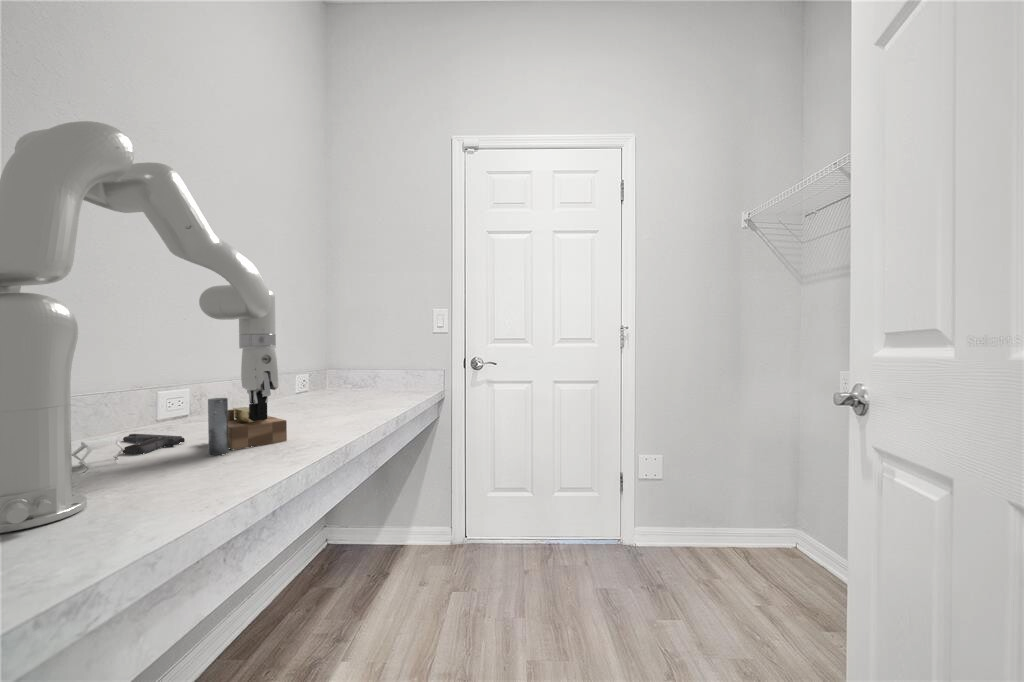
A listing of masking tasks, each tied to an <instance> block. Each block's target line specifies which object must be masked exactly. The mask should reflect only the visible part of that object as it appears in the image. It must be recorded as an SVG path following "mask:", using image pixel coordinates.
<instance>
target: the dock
mask: <svg viewBox="0 0 1024 682" xmlns="http://www.w3.org/2000/svg"><path fill="white" fill-rule="evenodd" d="M287 433H288V431H287V420H286V419H283V418H278V417H274V416H270V415H267V419H266V420H262V421H256V422H245V421H242V420H238V419H235V418H234V410H233V408H232V409H228V448H230V449H232V450H231V451H234V450H233V449H237V450H241V449H240V448H243V449H247V448H246V447H249V448H252V447H251V446H254V447H259V446H258V445H260V446H265V444H266V445H271V444H276V443H283V442H286V441H287V440H288V438H287V437H288V436H287ZM230 449H229V450H230Z"/></svg>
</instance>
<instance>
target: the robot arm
mask: <svg viewBox="0 0 1024 682" xmlns="http://www.w3.org/2000/svg"><path fill="white" fill-rule="evenodd" d="M134 159H135V150H134V145H133V143H132V141H131V140H130V138H129V137H128V136H127V135H126V134H125V133H124V132H123V131H121V130H120V129H118V128H117V127H115V126H113V125H110V124H107V123H104V122H99V121H88V120H85V121H84V120H81V121H79V120H77V121H71V122H65V123H62V124H57V125H55V126H52V127H50V128H46V129H38V130H34V131H30V132H27V133H25V134H23V135H22V136H20V137H19V139H18V140H17V141H16V143H15V146H14V151H13V154H12V155H11V156H10V157H9V159H8V160H7V162H6V163H5V165H4V168H3V170H2V171H1V175H0V534H2V533H3V534H4V533H10V532H14V531H15V532H16V531H21V530H26V529H30V528H35V527H38V526H39V527H40V526H42V525H46V524H50V523H53V522H56V521H60V520H62V519H66V518H68V517H71V516H74V515H75V514H77V513H79V512H81V511H82V510H84V509H85V507H87V505H88V499H87V497H86V496H84V495H82V494H76V493H75V494H74V493H73V465H72V463H73V462H72V461H73V460H72V457H73V456H72V455H71V454H72V417H71V415H72V410H71V407H72V406H71V405H72V404H71V380H72V376H71V375H72V368H73V367H72V366H73V360H74V357H75V356H74V355H75V351H76V348H77V343H78V337H79V326H78V321H77V318H76V316H75V314H74V313H73V311H71V309H70V308H69V307H68V306H67V305H66V304H64V303H62V301H60V300H57V299H56V298H53V297H51V296H48V295H43V294H40V293H33V292H21V288H22V286H23V287H24V286H27V287H28V286H40V285H41V286H42V285H49V284H55V283H57V282H60V281H63V280H64V279H65V278H66V277H67V276H69V274H70V272H71V271H72V268H73V265H74V260H75V253H76V245H77V243H76V242H77V236H78V230H79V229H78V227H79V218H80V212H81V208H82V204H83V201H84V202H87V203H90V204H93V205H95V206H98V207H101V208H104V209H106V210H110V211H113V212H118V213H121V214H122V213H123V214H132V213H133V214H134V213H143V214H144V216H145V217H146V218H147V220H148V221H149V223H151V226H153V227H152V228H153V229H154V231H156V233H157V234H158V236H159V237H160V238H161V240H162V242H163V243H164V244H165V246H166V247H167V250H168V251H169V252H170V253H171V254H172V255H174V256H176V257H178V258H180V259H182V260H184V261H187V262H189V263H191V264H194V265H198V266H200V267H203V268H205V269H208V270H210V271H212V272H214V273H215V274H217V275H219V276H221V277H222V278H224V279H225V281H227V282H228V283H229V284H227V285H225V284H224V285H223V284H221V285H214V286H211V287H208V288H206V289H205V290H203V291H202V293H201V294H200V296H199V300H198V303H199V309H200V310H201V311H202V312H203V314H205V315H206V316H208V318H209V317H210V318H211V319H216V320H220V321H221V320H222V321H223V320H228V321H229V320H231V321H232V320H238V334H239V335H238V344H239V345H238V347H239V348H238V349H241V350H242V352H241V364H240V365H241V370H240V372H241V373H240V376H241V380H240V381H241V387H242V388H243V389H244V390H246V393H247V394H248V399H249V404H250V420H252V421H260V420H266V419H267V416H268V402H269V397H270V396H271V390H273V391H276V390H277V389H278V388H279V371H278V359H277V354H276V350H275V349H276V348H277V345H276V344H277V342H276V338H277V337H276V334H277V333H276V296H275V294H274V291H271V290H269V288H268V287H267V284H266V282H265V280H264V279H263V277H262V275H261V274H260V272H259V270H258V269H257V267H256V266H255V265H254V263H252V261H250V260H249V258H247V257H246V256H245V255H243V254H242V253H241V252H239V251H238V250H237V249H236V248H234V247H233V246H232V245H230V244H229V243H227V242H225V241H224V240H222V239H221V238H220V237H219V236H217V235H216V234H215V231H214V230H213V229H212V227H211V225H210V224H209V222H208V220H207V218H206V217H205V215H204V214H203V212H202V210H201V208H200V206H199V205H198V204H197V202H196V200H195V198H194V197H193V195H192V193H191V191H190V190H189V188H188V187H187V185H186V183H185V181H184V180H183V179H182V177H181V176H180V174H179V173H178V172H177V171H176V170H175V169H174V168H172V166H169V165H167V164H164V163H162V162H136V163H135V162H134ZM133 162H134V163H133Z"/></svg>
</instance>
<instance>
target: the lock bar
mask: <svg viewBox="0 0 1024 682" xmlns="http://www.w3.org/2000/svg"><path fill="white" fill-rule="evenodd" d="M250 404H251V403H249V404H248V406H242V407H233V408H232V410H234V419H238V420H242V421H245V422H256V421H252V420H250ZM260 421H262V420H260Z"/></svg>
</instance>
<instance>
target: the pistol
mask: <svg viewBox="0 0 1024 682" xmlns="http://www.w3.org/2000/svg"><path fill="white" fill-rule="evenodd" d="M123 440H124V441H123ZM122 441H123V442H126V441H133V442H137V443H134V444H130V445H128V446H125V447H124V449H125V450H123V451H122V452H121V453H123V454H124V453H125V454H124V455H134V454H142V455H144V454H143V453H145V454H147V453H151V452H152V451H156V450H159V449H161V448H160V447H163V448H165V447H164V446H170V445H175V446H178V445H180V444H179V443H180V442H182V443H185V441H186V440H185V438H184V437H183V436H181V435H167V434H166V435H165V434H150V433H149V434H148V433H130V434H129V435H127V436H124V437H123V438H122ZM133 442H132V443H133ZM170 447H171V446H170ZM158 448H159V449H158ZM155 449H156V450H155Z"/></svg>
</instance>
